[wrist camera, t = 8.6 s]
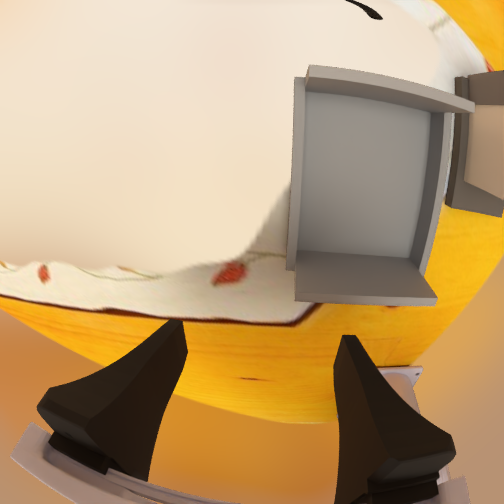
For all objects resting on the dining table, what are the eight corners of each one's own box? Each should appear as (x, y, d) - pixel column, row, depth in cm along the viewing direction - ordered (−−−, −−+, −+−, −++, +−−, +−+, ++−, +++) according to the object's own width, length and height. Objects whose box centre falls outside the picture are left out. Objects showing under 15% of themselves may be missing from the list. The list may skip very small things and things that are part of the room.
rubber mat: (495, 213, 17) (501, 217, 16) (445, 203, 17) (451, 207, 16) (506, 101, 12) (513, 101, 12) (454, 77, 13) (461, 76, 12)
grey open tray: (411, 262, 20) (442, 306, 14) (286, 253, 21) (283, 300, 16) (434, 106, 15) (482, 105, 9) (294, 83, 16) (295, 63, 10)
